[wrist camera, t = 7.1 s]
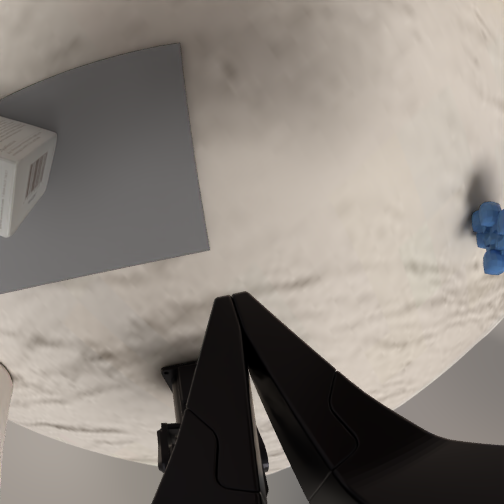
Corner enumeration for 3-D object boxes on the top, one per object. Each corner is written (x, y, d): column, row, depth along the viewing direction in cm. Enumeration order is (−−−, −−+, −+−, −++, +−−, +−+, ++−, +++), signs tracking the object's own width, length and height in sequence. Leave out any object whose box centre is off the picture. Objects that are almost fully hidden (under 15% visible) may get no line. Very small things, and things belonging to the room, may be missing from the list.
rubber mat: (209, 247, 22) (210, 250, 22) (-22, 296, 19) (-24, 299, 19) (179, 43, 14) (179, 42, 14) (-84, 154, 11) (-87, 155, 10)
